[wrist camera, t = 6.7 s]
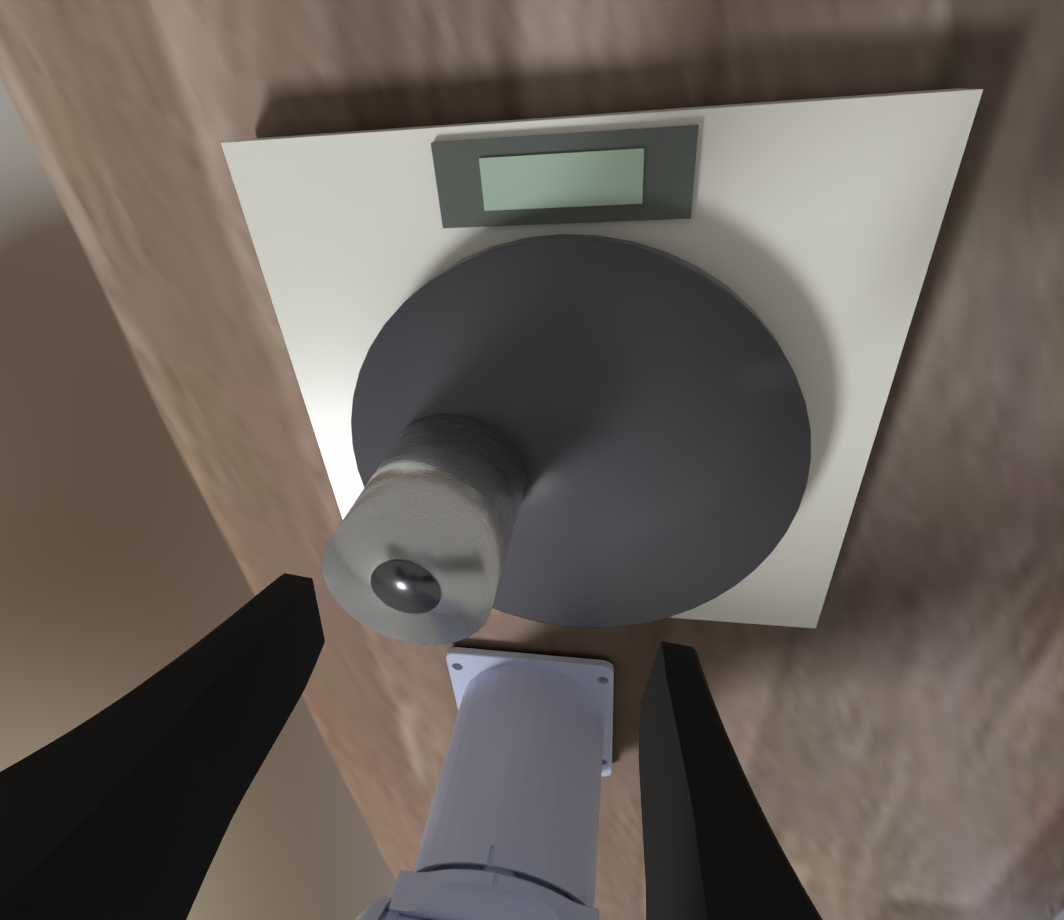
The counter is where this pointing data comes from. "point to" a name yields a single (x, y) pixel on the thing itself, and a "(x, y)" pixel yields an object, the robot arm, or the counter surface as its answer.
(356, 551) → the cylinder
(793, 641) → the counter surface
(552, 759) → the robot arm
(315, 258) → the scale base
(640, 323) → the scale pan
